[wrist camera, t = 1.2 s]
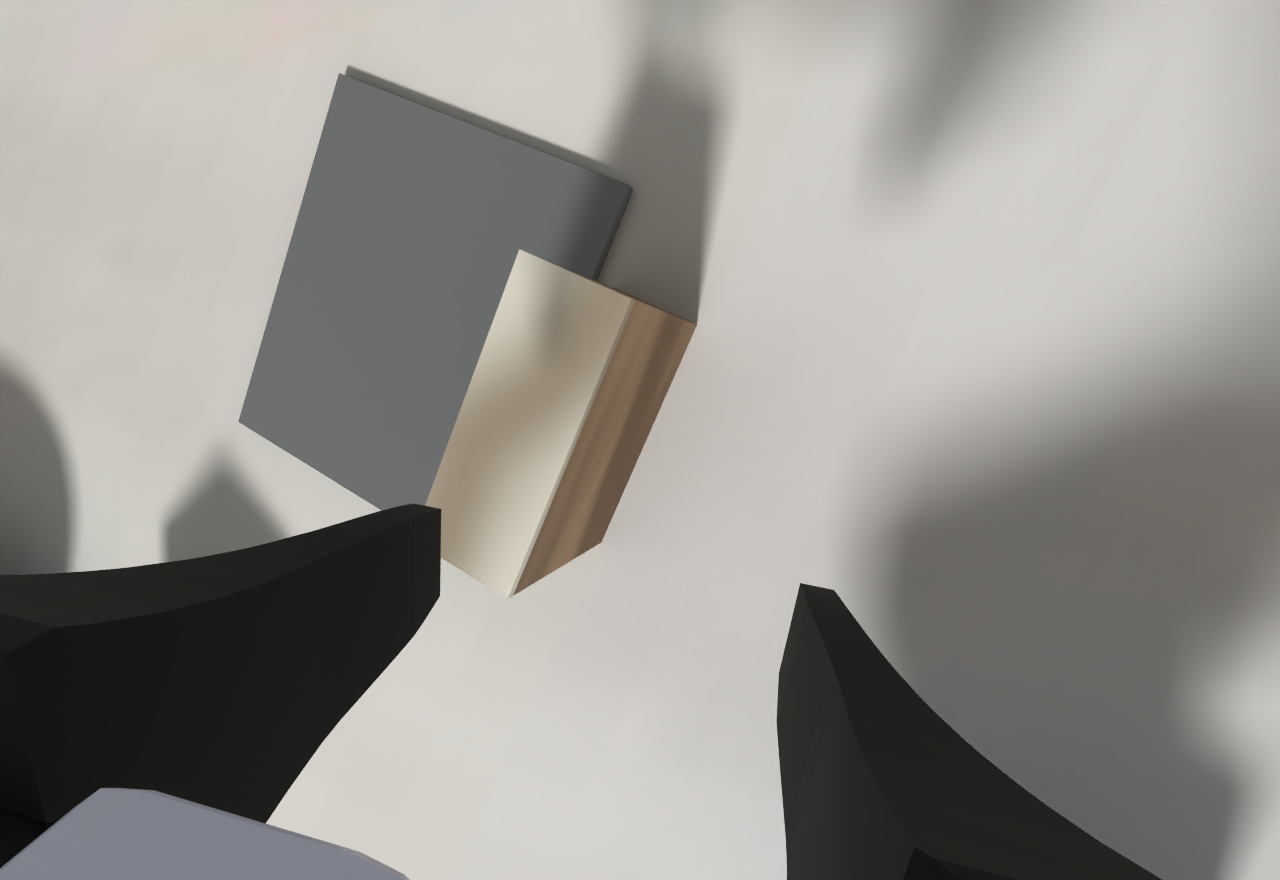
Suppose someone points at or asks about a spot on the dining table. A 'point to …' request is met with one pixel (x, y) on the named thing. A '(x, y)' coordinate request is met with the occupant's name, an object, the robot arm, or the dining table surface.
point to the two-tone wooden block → (551, 423)
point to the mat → (406, 284)
